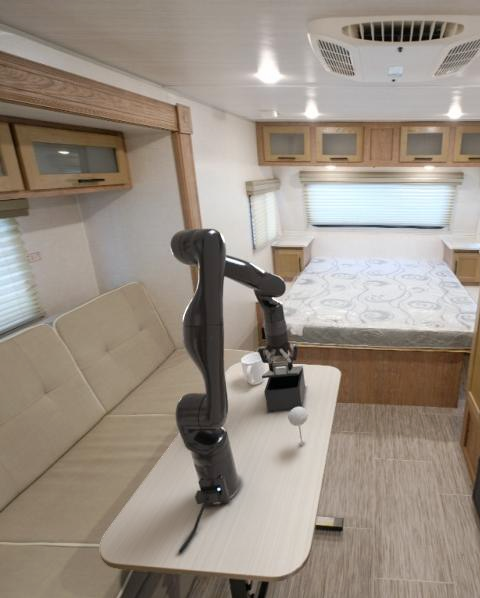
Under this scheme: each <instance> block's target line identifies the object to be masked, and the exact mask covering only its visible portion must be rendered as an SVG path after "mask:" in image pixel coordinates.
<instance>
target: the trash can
mask: <svg viewBox="0 0 480 598" xmlns="http://www.w3.org/2000/svg"><path fill="white" fill-rule="evenodd" d="M263 392H264V398H265V404H266V408H267V409H266V410H267V413H279V412H287V411H291V410H292V409H293V408H295V407H303V406H304V400H305V393H306V380H305V373H304V367H303V368H302V370H301V371H300V373H299V374H298V375H292V376H281V377H270V378H267V382H266V384H265V388H264V391H263ZM303 408H304V407H303Z"/></svg>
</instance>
